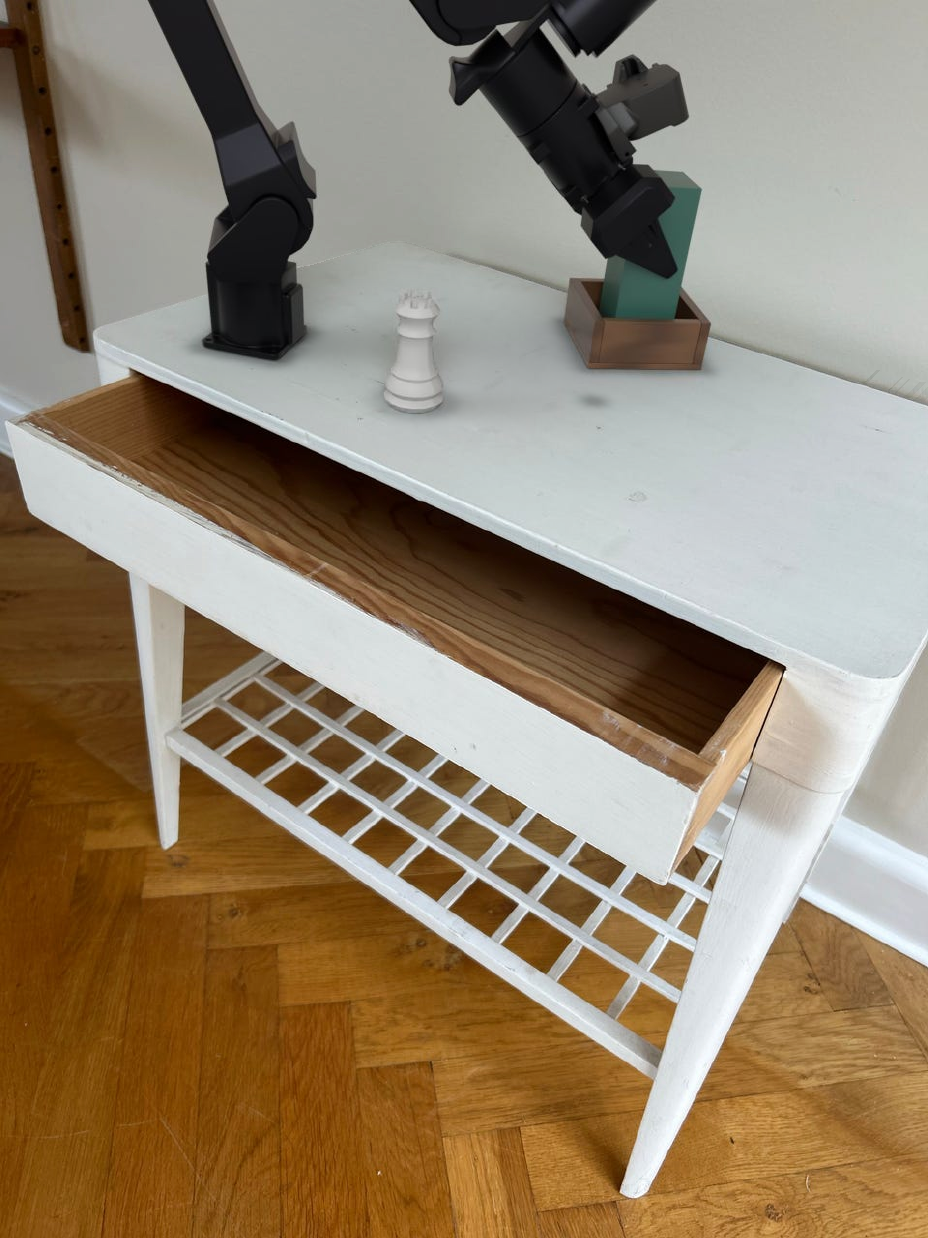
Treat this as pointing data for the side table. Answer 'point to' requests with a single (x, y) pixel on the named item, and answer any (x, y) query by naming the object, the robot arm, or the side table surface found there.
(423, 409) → the rook chess piece
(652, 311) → the box
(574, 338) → the walnut holder
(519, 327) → the side table surface
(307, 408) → the side table surface
